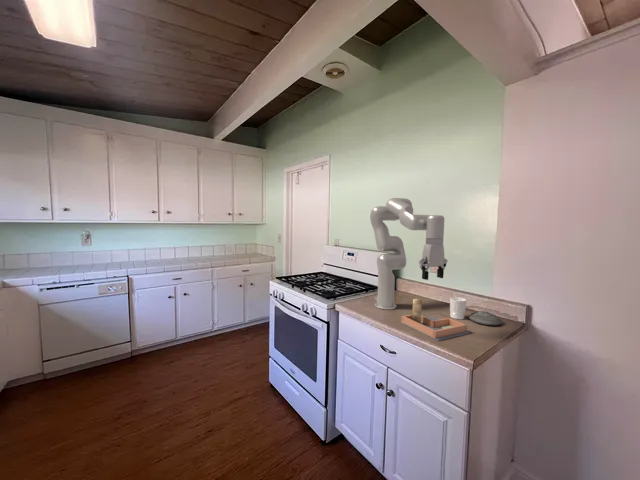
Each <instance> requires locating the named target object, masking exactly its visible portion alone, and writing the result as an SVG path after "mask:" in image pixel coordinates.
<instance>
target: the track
mask: <svg viewBox="0 0 640 480" xmlns="http://www.w3.org/2000/svg"><path fill="white" fill-rule="evenodd" d="M400 323H401V325H403V326H406V327H408V328H411V329H413V330H414V331H416V332H419V333H420V334H423V335H424V336H426V337H428V338H431V340H435V341H436V342H440V341H444V340H448V339H452V338H457V337H461V336H466V335H469V334H470V332H469V331H467V327H468V324H465V323H463V322H460V321H458V320H456V319H454V318H450V317H447V318H440V319H438V318H436V317H432V316H430V315H429V316H423V315H421V324H420V323H418V322H415V321H413V320H412V314H408V315H401V321H400Z"/></svg>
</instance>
